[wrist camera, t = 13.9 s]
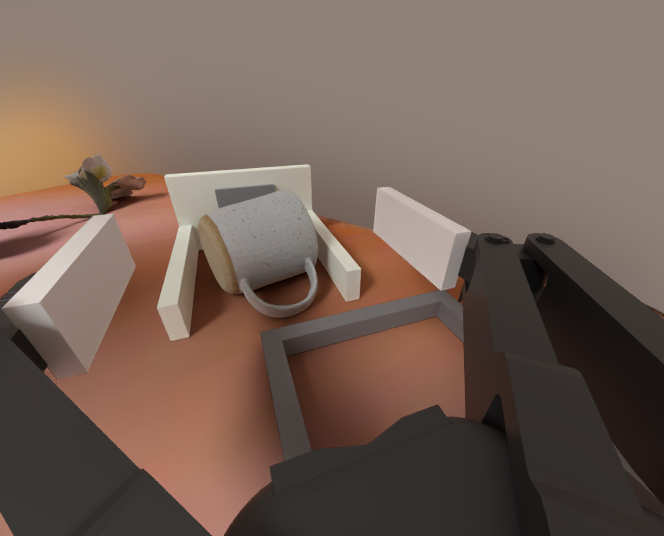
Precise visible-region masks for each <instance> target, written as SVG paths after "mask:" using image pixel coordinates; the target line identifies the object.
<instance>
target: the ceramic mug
mask: <svg viewBox="0 0 664 536" xmlns="http://www.w3.org/2000/svg"><path fill="white" fill-rule="evenodd" d="M198 232H199V237H200V241H201V244H202V247H203V250H204V253H205V256H206V258H207V261H208V263H209V265H210V268H211V270H212V272H213V274H214V276H215V278H216V280H217V282H218V283H219V285H220V286H221V288H222V289H223V290H224V291H225V292H227V293H229V294H233V295H234V294H240V293H244V295H245V297H246V299H247V300H248V302H249V303H250V304H251V305H252V306H253V307H254V308H255V309H256V310H258V311H259V312H261V313H262V314H264V315H267V316H270V317H277V318H284V317H291V316H293V315H296V314H298V313H300V312H302V311H304V310H306V309H307V308H308V307H309V306H310V304H311V303H312V301H313V299H314V297H315V293H316V290H317V285H318V283H317V282H318V279H317V274H316V270H315V267H314V266H315V264H316V262H317V257H318V242H317V236H316V232H315V228H314V226H313V222H312V220H311V218H310V215H309V213H308V211H307V209H306V208H305V206H304V205H303V203H302V202H301V201H300V199H299V198H298V197H297V196H296V195H295V194H294V193H292V192H291V191H288V190H280V191H276V192H273V193H270V194H267V195H264V196H261V197H257V198H254V199H250V200H247V201H243V202H240V203H236V204H232V205H228V206H225V207H222V208H219V209H216V210H214V211H212V212H210V213H208V214H206V215H204V216H203V217H201V218H200V220H199V223H198ZM306 271H307V274H308V276H309V279H310V283H311V289H310V290H309V294H308V296H307V297H306V298H305V299H304V300H303V301H301V302H299V303H296V304H292V305H275V304H268V303H266V302H264V301H263V300H262V299H260V298H258V297H257V295H256V294H255V293H254V292H253V290H255V289H258V288H260V287H263V286H266V285H268V284H271V283H274V282H278V281H281V280H284V279H287V278H290V277H293V276H295V275H298V274H301V273H304V272H306Z"/></svg>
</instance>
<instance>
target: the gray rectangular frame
mask: <svg viewBox="0 0 664 536" xmlns="http://www.w3.org/2000/svg"><path fill="white" fill-rule="evenodd" d="M436 316H437V317H438V318H439V319H440V320H441V321H442V322H443V323H444V324H445V325H446V326H447V327H448V328H449V329H450V330H451V331H452V332H453V333H454V334H455V335H456V336H457V337H458V338H459V339H460V340H461V341H462V342H463V343H464V333H463V305H462V304H461V303H459V302H458V301H457V300H456V299H455V298H453V297H452V296H451V295H450V294H449V293H448V292H446V291H445V290H442V291H441V290H437V291H433V292H429V293H425V294H420V295H416V296H412V297H408V298H403V299H399V300H395V301H391V302H386V303H382V304H378V305H374V306H369V307H365V308H361V309H357V310H352V311H348V312H344V313H340V314H335V315H331V316H327V317H323V318H318V319H314V320H310V321H306V322H301V323H297V324H293V325H289V326H284V327H280V328H276V329H272V330H267V331H263V332H260V334H261V339H262V345H263V350H264V356H265V361H266V366H267V372H268V377H269V382H270V387H271V393H272V398H273V403H274V409H275V414H276V419H277V425H278V430H279V435H280V440H281V446H282V451H283V456H284V461H286V460H289V459H291V458H294V457H297V456H300V455H302V454H305V453H308V452H310V451H312V449H311V446H310V442H309V438H308V435H307V431H306V427H305V423H304V420H303V416H302V412H301V409H300V405H299V401H298V398H297V394H296V390H295V387H294V383H293V379H292V376H291V372H290V368H289V365H288V361H287V357H286V356H289V355H293V354H297V353H301V352H304V351H308V350H312V349H316V348H319V347H323V346H327V345H331V344H334V343H338V342H342V341H346V340H349V339H353V338H357V337H361V336H364V335H368V334H372V333H376V332H379V331H383V330H387V329H391V328H394V327H398V326H402V325H406V324H410V323H413V322H417V321H421V320H425V319H428V318H432V317H436ZM613 445H614V443H613ZM614 447H615V449H616V451H617V454H618V456H619V458H620V460H621V462H622V465H623V467H624V469H625V471H626V474H627V476H628V478H629V480H630V483H631V485H632V487H633V489H634V492H635V494H636V496H637V498H638V501H639V503H640V505H642V506H644V507H646V508H648V509H649V510H651V511H653V512H655V513H657V514H659V515H661V516H663V517H664V505H663V504H662V503H661V502H660V501H659V500H658V499H657V498H656V497H655V495H654V494H653V493H652V492H651V491H650V490H649V488H648V487H647V486H646V485H645V484H644V482H643V481H642V480H641V479H640V478H639V477H638V475H637V474H636V473H635V472H634V471H633V469H632V468H631V467H630V465H629V464H628V463H627V461H626V460H625V459H624V457H623V456H622V455H621V453H620V452H619V450H618V449H617V448H616V446H615V445H614Z"/></svg>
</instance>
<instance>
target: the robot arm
mask: <svg viewBox="0 0 664 536" xmlns="http://www.w3.org/2000/svg"><path fill="white" fill-rule="evenodd" d="M373 232H374V233H375V234H377V235H378V236H379V237H380V238H381V239H382V240H383V241H385V242H386V243H387V244H388V245H389V246H390V247H391V248H393V249H394V250H395V251H396V252H397V253H398V254H399V255H401V256H402V257H403V258H404V259H405V260H406V261H407V262H409V263H410V264H411V265H412V266H413V267H414V268H415V269H417V270H418V271H419V272H420V273H421V274H422V275H424V276H425V277H426V278H427V279H428V280H429V281H430V282H432V283H433V284H434V285H435V286H436V287H437V288H438V289H440V290H441V291H442V290H446V289H451V288H455V286H456V283H457V279H458V276H460V277H461V278H463V279H464V280H465V281H464V284H463V287H462V290H461V294H460V297H459V300H458V302H461V300H462V299H463V333H464V372H465V410H466V414H465V418H460V417H446V415H445V414H444V412H443V411H442V410H441V408H440V407H439V405H435V406H432V407H429V408H427V409H424V410H421V411H419V412H416V413H413V414H410V415H408V416H405V417H402V418H401V419H400V420H398V421H397V422H396V423H395V424H393V425H392V426H391V427H389V428H388V429H387V430H386V431H384V432H383V433H382V434H381V435H379V436H378V437H377V438H375V439H374V440H373V441H372V442H370V443H369V444H366V445H362V446H349V447H337V448H324V449H316V450H313V451H310V452H308V453H305V454H302V455H300V456H297V457H294V458H291V459H289V460H286V461H283V462H281V463H278V464H275V465H273V466H270V472H271V479H272V482H271V483H269V484H268V485H267V486H265V487H264V488H263V489H261V490H260V491H259V492H258V493H257V494H256V495H255V496H254V497H253V498H252V499H250V501H249V502H248V503H247V504H246V505H245V506H244V507H243V509H242V510H241V511H240V512H239V513H238V515H237V516H236V518H235V519H234V520H233V522H232V523H231V524H230V526H229V528H228V529H227V531H226V533H225V534H224V536H664V517H663V516H661V515H659V514H657V513H655V512H653V511H651V510H649V509H648V508H646V507H644V506H642V505H640V503H639V501H638V498H637V496H636V494H635V492H634V489H633V487H632V485H631V483H630V480H629V478H628V476H627V474H626V471H625V469H624V467H623V465H622V462H621V460H620V458H619V456H618V454H617V451H616V449H615V447H614V445H615V446H616V448H617V449H618V450H619V452H620V453H621V455H622V456H623V457H624V459H625V460H626V461H627V463H628V464H629V465H630V467H631V468H632V469H633V471H634V472H635V473H636V474H637V475H638V477H639V478H640V479H641V480H642V481H643V482H644V484H645V485H646V486H647V487H648V488H649V490H650V491H651V492H652V493H653V494H654V495H655V497H656V498H657V499H658V500H659V501H660V502H661V503H662V504H663V505H664V319H663V318H662V317H660V316H659V315H658V314H656V313H655V312H654V311H653V310H651V309H650V308H649V307H647V306H646V305H645V304H644V303H642V302H641V301H640V300H638V299H637V298H636V297H634V296H633V295H632V294H631V293H629V292H628V291H627V290H625V289H624V288H623V287H621V286H620V285H619V284H618V283H616V282H615V281H614V280H612V279H611V278H610V277H609V276H607V275H606V274H605V273H603V272H602V271H601V270H599V269H598V268H597V267H596V266H594V265H593V264H592V263H590V262H589V261H588V260H587V259H585V258H584V257H582V256H581V255H580V254H579V253H577V252H576V251H575V250H574V249H572V248H571V247H570V246H568V245H567V244H566V243H565V242H563V241H562V240H560V239H558V238H556V237H553V236H552V235H549V234H545V233H543V234H539V233H538V234H537V233H535V234H529V235H528V236H527V238H526V241H525V243H524V244H521V245H520V244H513V242H512V241H511V240H510V239H509V238H507V237H504V236H502V235H499V234H494V233H492V234H491V233H484V234H480V235H477V234H475V233H473V232H471V231H470V230H468V229H466V228H465V227H463V226H461V225H459V224H457V223H455V222H453V221H451V220H450V219H448V218H446V217H444V216H442V215H440V214H438V213H437V212H435V211H433V210H431V209H429V208H427V207H426V206H424V205H422V204H420V203H418V202H416V201H414V200H412V199H411V198H409V197H407V196H405V195H403V194H401V193H399V192H398V191H396V190H394V189H392V188H390V187H382V188H377V198H376V208H375V219H374V230H373ZM135 267H136V266H135V263H134V261H133V258H132V256H131V254H130V251H129V249H128V247H127V244H126V242H125V239H124V237H123V235H122V232H121V230H120V228H119V225H118V223H117V220H116V218H115V216H114V214H106V215H96V216H93V217H92V218H91V219H90V220H89V221H88V222H87V223H86V224H85V225H84V226H83V227H82V228H81V229H80V230H79V231H78V232H77V233H76V234H75V235H74V236H73V237H72V238H71V239H70V240H69V241H68V242H67V243H66V244H65V245H64V246H63V247H62V248H61V249H60V250H59V251H58V252H57V253H56V254H55V255H54V256H53V257H52V258H51V259H50V260H49V261H48V262H47V263H46V264H45V265H44V266H43V267H42V268H41V269H40V270H39V271H38V272H37V273H33V274H31V275H29V276H27V277H26V278H24V279H22V280H20V281H19V282H17V283H16V284H15V285H14V286H13V287H12V288H11V289H10V290H9V291H8V293H6V294H5V295H4V296H3V297H2V298H1V299H0V512H1V514H2V516H3V517H4V519H5V521H6V523H7V525H8V526H9V528H10V530H11V532H12V533H13V535H14V536H212V535H211V534H210V533H209V532H208V531H207V530H206V529H205V528H204V527H203V526H202V525H201V524H200V523H199V522H198V521H196V520H195V519H194V518H193V517H192V516H191V515H190V514H189V513H188V512H187V511H186V510H185V509H184V508H183V507H182V506H181V505H180V504H179V503H178V502H177V501H176V500H175V499H174V498H173V497H172V496H171V495H170V494H169V493H168V492H167V491H166V490H165V489H164V488H163V487H162V486H161V485H160V484H159V483H158V482H157V481H156V480H155V479H154V478H153V477H152V476H151V475H150V474H149V473H148V472H147V471H145V470H144V469H140V468H138V467H137V466H136V465H135V464H134V463H133V462H132V461H131V460H130V459H129V458H128V457H127V456H126V455H125V454H124V453H123V452H122V451H121V450H120V449H119V448H118V447H117V446H116V445H115V444H114V443H113V442H112V441H111V440H110V439H109V438H108V437H107V436H106V435H105V434H104V433H103V432H102V431H101V430H100V429H99V428H98V427H97V426H96V425H95V424H94V423H93V422H92V421H91V420H90V419H89V418H88V417H87V416H86V415H85V414H84V413H83V412H82V411H81V410H80V409H79V408H78V407H77V406H76V405H75V404H74V403H73V402H72V401H71V400H70V399H69V398H68V397H67V396H66V395H65V394H64V393H63V392H62V391H61V390H60V389H59V388H58V387H57V386H56V385H55V384H54V383H53V382H52V381H51V380H50V379H49V378H48V377H47V376H46V375H45V374H44V373H43V372H44V370H45V369H46V367H48V368H49V370H50V371H51V372H52V373H53V375H54V376H55V377H56V379H57V380H58V379H62V378H66V377H70V376H75V375H79V374H83V373H88V371H89V368H90V366H91V364H92V362H93V360H94V357H95V355H96V353H97V351H98V349H99V346H100V344H101V342H102V340H103V338H104V335H105V333H106V331H107V329H108V327H109V324H110V322H111V320H112V318H113V316H114V313H115V311H116V309H117V307H118V305H119V302H120V300H121V298H122V296H123V294H124V291H125V289H126V287H127V285H128V283H129V280H130V278H131V276H132V274H133V272H134V269H135ZM547 280H548V281H547ZM546 282H547V284H546ZM545 284H546V286H545ZM613 443H614V445H613Z"/></svg>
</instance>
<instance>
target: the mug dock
mask: <svg viewBox="0 0 664 536" xmlns="http://www.w3.org/2000/svg"><path fill="white" fill-rule="evenodd" d="M164 178H165V181H166V185H167V188H168V191H169V195H170V198H171V201H172V204H173V208H174V211H175V214H176V217H177V221H178V224H179V229H178V233H177V236H176V240H175V244H174V247H173V251H172V255H171V258H170V262H169V265H168V269H167V273H166V276H165V280H164V284H163V287H162V291H161V295H160V298H159V302H158V305H157V310H158V312H159V314H160V317H161V319H162V322H163V324H164V326H165V329H166V331H167V333H168V336H169V338H170V341H174V340H179V339H183V338H188V337H189V336H190V327H191V318H192V308H193V299H194V290H195V280H196V271H197V262H198V252H199V250H203V247H202V244H201V241H200V237H199V232H198V223H199V220H200V218H201V217H203V216H204V215H206V214H208V213H210V212H212V211H214V210H216V209H219V208H222V207H225V206H228V205H232V204H236V203H240V202H243V201H247V200H250V199H254V198H257V197H261V196H264V195H267V194H270V193H273V192H276V191H280V190H288V191H291V192H292V193H294V194H295V195H296V196H297V197H298V198H299V199H300V201H301V202H302V203H303V205H304V206H305V208H306V209H307V211H308V213H309V215H310V218H311V220H312V222H313V226H314V228H315V232H316V236H317V242H318V258H319V260H320V262H321V263H322V265H323V266H324V268H325V269H326V271H327V273H328V274H329V276H330V277H331V279H332V281H333V282H334V284H335V285H336V287H337V288H338V290H339V292H340V293H341V295H342V296H343V298H344V299H345V301H346V302H348V301H353V300H357V299H359V295H360V280H361V268H360V267H359V266H358V264H357V263H356V262H355V261H354V260H353V258H352V257H351V256H350V255H349V254H348V253H347V251H346V250H345V249H344V248H343V247H342V245H341V244H340V243H339V242H338V241H337V239H336V238H335V237H334V236H333V235H332V233H331V232H330V231H329V230H328V229H327V228H326V226H325V225H324V224H323V223H322V222H321V220H320V219H319V218H318V217H317V216H316V214H315V213H314V212H313V211H312V195H311V168H310V166H309V165H308V164H307V165H294V166H280V167H268V168H267V167H266V168H252V169H238V170H224V171H210V172H196V173H182V174H168V175H166V176H165V177H164Z"/></svg>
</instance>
